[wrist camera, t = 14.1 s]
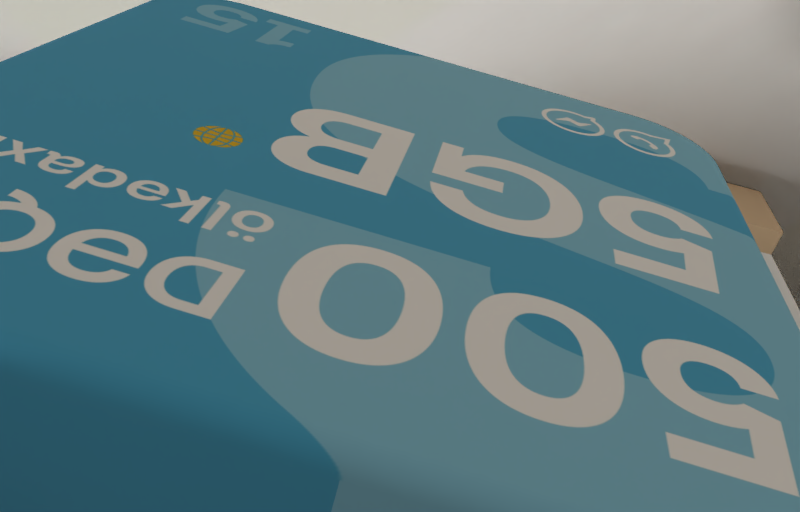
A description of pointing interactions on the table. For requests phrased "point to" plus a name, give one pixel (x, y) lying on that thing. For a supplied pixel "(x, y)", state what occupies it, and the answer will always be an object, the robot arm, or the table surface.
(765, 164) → the table surface
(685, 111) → the table surface
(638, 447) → the data package
